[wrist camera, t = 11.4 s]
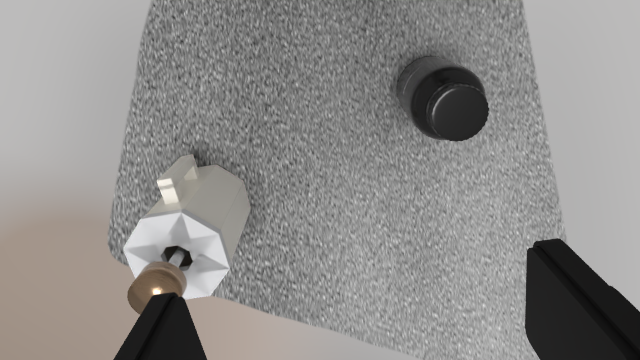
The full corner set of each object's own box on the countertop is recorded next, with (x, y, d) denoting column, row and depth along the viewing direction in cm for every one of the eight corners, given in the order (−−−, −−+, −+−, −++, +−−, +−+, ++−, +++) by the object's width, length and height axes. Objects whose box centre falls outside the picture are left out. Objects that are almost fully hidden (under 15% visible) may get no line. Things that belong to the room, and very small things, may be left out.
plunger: (188, 192, 48) (119, 282, 32) (220, 187, 48) (168, 275, 32) (198, 221, 50) (137, 322, 34) (229, 216, 49) (184, 315, 33)
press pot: (157, 153, 48) (102, 199, 36) (233, 140, 47) (202, 183, 35) (187, 238, 52) (146, 305, 40) (257, 227, 51) (237, 291, 39)
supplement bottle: (393, 60, 43) (417, 76, 32) (457, 51, 43) (504, 64, 32) (397, 122, 46) (421, 157, 35) (458, 114, 46) (502, 147, 34)
